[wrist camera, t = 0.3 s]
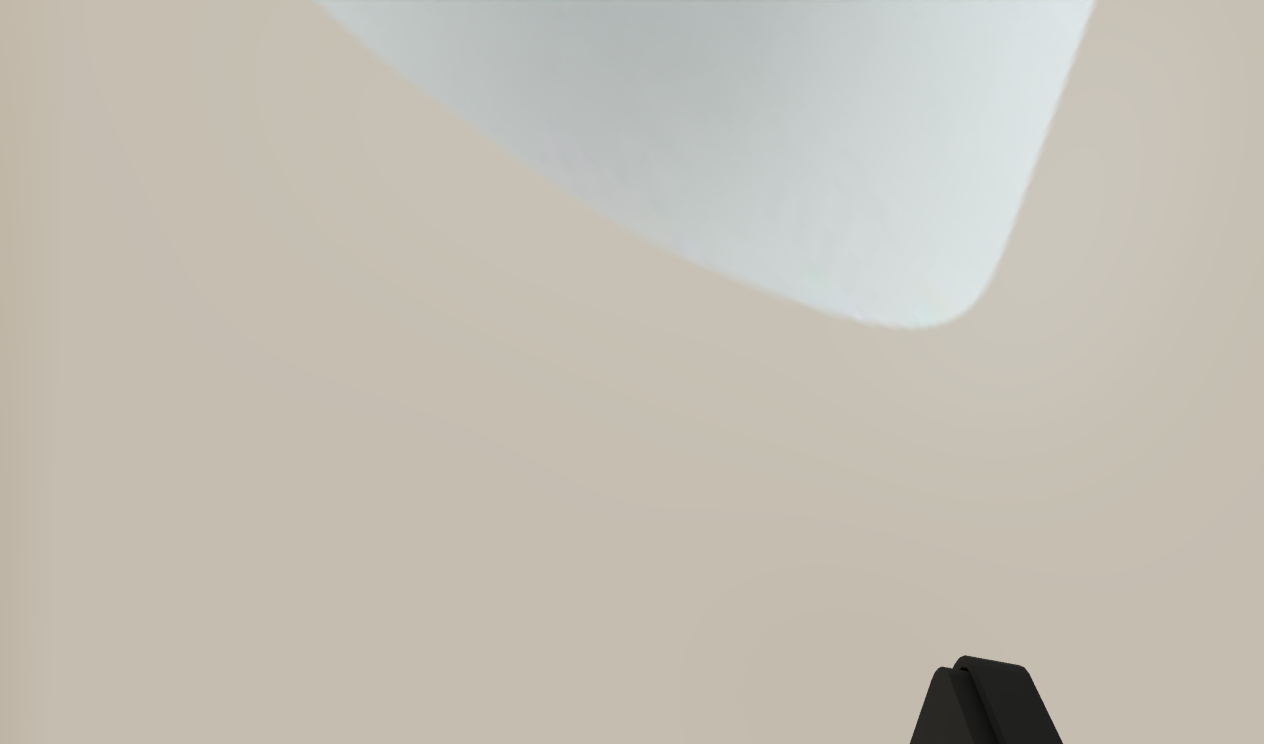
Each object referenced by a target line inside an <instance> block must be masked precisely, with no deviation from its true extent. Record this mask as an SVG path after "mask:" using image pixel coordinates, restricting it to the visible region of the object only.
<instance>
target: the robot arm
mask: <svg viewBox="0 0 1264 744" xmlns="http://www.w3.org/2000/svg"><path fill="white" fill-rule="evenodd" d="M910 744H1063V743H1062V741H1061V739H1060V737H1059V734H1058V732H1057V730H1056V729H1055V726H1054V724H1053V722H1052V720H1051V718H1050V716H1049V714H1048V712H1047V710H1046V708H1045V705H1044V703H1043V701H1042V699H1041V697H1040V695H1039V693H1038V691H1037V689H1036V687H1035V685H1034V683H1033V681H1032V679H1031V676H1030V674H1029V673H1028V672H1027V670H1026V669H1025V668H1024V667H1022V666H1020V665H1015V664H1009V663H1004V662H998V661H993V660H988V659H982V658H976V657H971V656H966V655H965V656H962V657H960V658H959V659H958V660H957V662H956V663H955V665H954V667H953V669H951V668H946V667H940V668H938V670H937V671H936V672H935V673H934V676H933V678H932V680H931V683H930V686H929V689H928V692H927V695H926V698H925V701H924V704H923V707H922V710H921V712H920V715H919V718H918V721H917V724H916V727H915V730H914V733H913V736H912V739H911V742H910Z"/></svg>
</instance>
